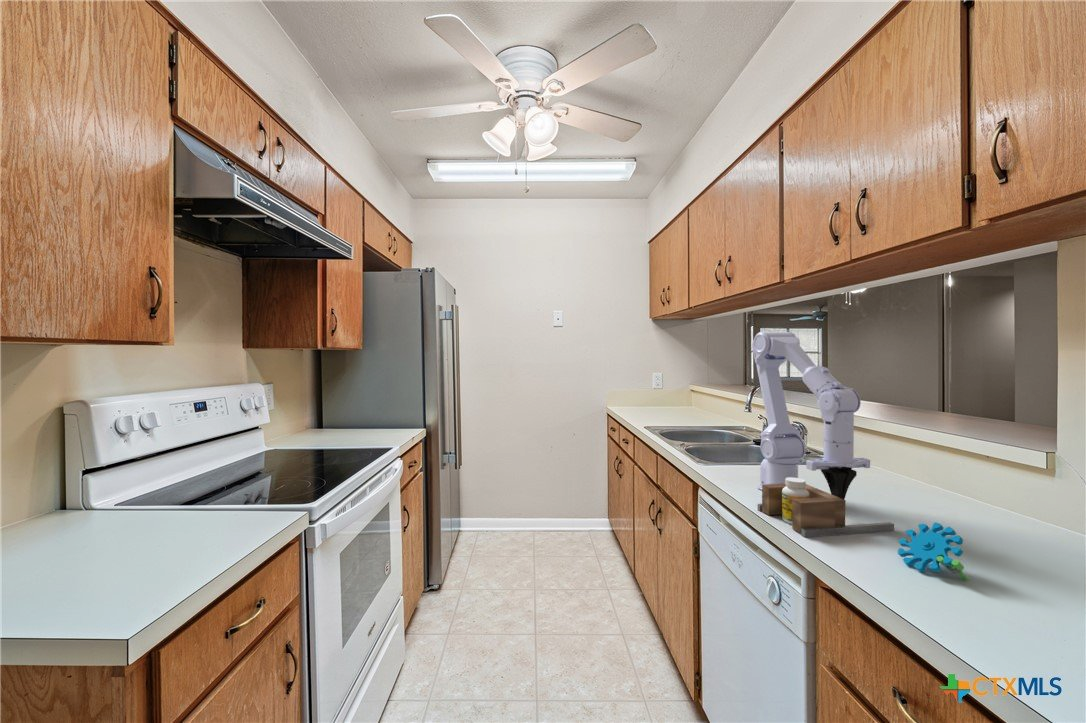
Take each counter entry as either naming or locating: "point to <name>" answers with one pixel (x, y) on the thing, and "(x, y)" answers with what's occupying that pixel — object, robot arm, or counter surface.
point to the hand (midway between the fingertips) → (838, 499)
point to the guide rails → (844, 528)
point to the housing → (805, 507)
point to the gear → (932, 549)
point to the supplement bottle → (792, 496)
